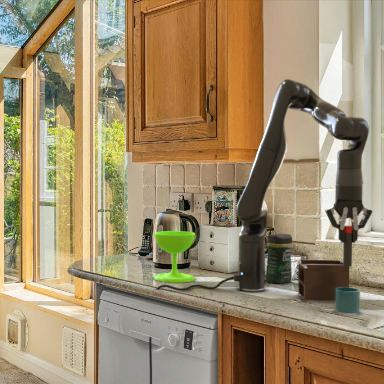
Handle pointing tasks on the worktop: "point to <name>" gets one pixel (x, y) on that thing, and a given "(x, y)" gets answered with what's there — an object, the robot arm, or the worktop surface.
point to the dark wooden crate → (321, 279)
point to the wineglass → (174, 253)
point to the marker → (347, 246)
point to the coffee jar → (279, 258)
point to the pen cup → (347, 300)
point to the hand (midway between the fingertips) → (347, 242)
